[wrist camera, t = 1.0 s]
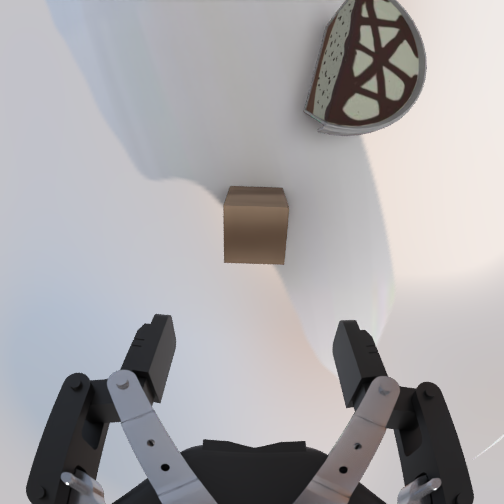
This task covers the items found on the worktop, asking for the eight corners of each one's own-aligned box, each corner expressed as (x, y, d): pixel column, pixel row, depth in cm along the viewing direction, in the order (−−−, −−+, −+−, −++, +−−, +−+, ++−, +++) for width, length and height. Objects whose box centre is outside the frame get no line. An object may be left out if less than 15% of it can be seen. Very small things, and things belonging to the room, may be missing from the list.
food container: (359, 145, 24) (409, 166, 16) (299, 126, 24) (324, 133, 15) (387, 38, 19) (442, 15, 10) (328, 14, 18) (363, -27, 9)
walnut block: (230, 186, 27) (223, 205, 21) (282, 187, 27) (289, 207, 21) (230, 233, 29) (224, 262, 24) (278, 235, 29) (284, 264, 24)
